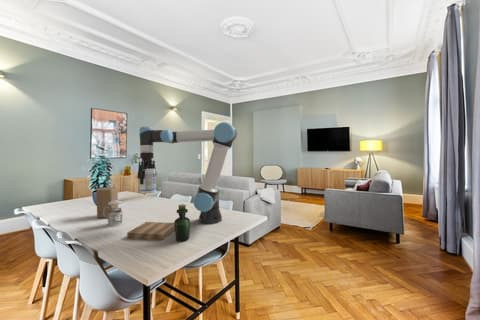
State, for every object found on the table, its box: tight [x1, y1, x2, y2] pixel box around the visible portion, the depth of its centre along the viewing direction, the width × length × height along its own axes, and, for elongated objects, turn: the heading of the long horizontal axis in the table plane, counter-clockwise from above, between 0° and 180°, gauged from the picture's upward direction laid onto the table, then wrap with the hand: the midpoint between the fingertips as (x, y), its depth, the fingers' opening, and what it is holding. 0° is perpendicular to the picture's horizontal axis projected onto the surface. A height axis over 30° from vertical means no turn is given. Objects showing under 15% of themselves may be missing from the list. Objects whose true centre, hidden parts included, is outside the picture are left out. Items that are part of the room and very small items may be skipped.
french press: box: [103, 184, 125, 228], centre depth 135 cm, size 10×12×25 cm
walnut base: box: [126, 221, 175, 241], centre depth 122 cm, size 20×18×3 cm
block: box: [96, 186, 119, 219], centre depth 153 cm, size 10×10×20 cm
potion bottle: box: [173, 203, 191, 243], centre depth 112 cm, size 8×8×18 cm
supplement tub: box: [138, 168, 157, 195], centre depth 133 cm, size 10×10×15 cm
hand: (147, 188), depth 134 cm, fingers closed on supplement tub, 9 cm apart
